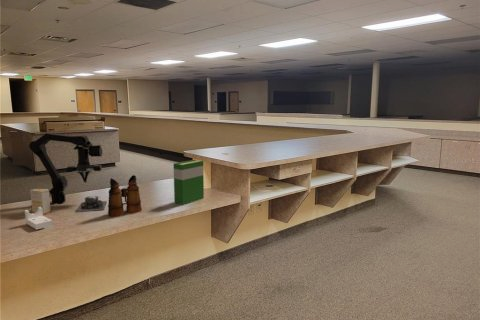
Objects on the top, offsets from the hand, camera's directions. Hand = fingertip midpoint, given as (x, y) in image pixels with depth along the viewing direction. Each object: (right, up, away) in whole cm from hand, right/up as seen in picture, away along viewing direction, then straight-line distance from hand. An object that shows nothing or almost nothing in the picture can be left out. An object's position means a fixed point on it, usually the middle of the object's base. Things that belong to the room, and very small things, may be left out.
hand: (85, 182), depth 202 cm
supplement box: (-15, -16, -18) cm, 28 cm away
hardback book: (+61, -12, +7) cm, 63 cm away
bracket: (-6, -19, -37) cm, 42 cm away
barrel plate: (+8, -14, -8) cm, 18 cm away
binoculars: (+30, -16, -17) cm, 37 cm away
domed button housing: (+8, -13, -8) cm, 17 cm away
